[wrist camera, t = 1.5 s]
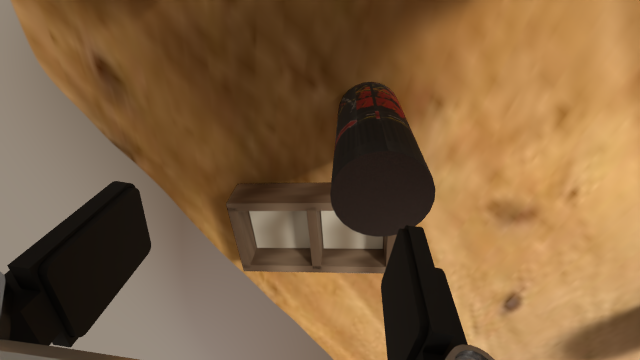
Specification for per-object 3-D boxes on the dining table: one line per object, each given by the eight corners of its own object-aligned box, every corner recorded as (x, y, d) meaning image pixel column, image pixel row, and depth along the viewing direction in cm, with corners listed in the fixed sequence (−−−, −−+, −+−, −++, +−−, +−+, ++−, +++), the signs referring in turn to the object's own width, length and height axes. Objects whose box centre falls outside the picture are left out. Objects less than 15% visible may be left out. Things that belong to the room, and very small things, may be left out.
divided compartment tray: (394, 181, 35) (399, 202, 31) (390, 251, 40) (394, 275, 36) (237, 183, 36) (226, 203, 33) (253, 249, 42) (244, 272, 38)
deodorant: (408, 124, 31) (449, 216, 18) (354, 149, 33) (357, 248, 20) (384, 70, 29) (412, 132, 16) (327, 100, 31) (311, 177, 18)
